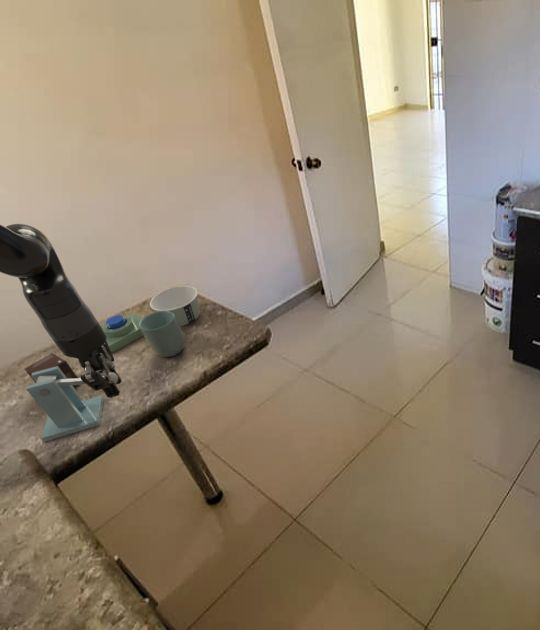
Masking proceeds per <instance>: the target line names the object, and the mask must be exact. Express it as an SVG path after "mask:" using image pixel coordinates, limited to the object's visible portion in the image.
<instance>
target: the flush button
mask: <svg viewBox="0 0 540 630" xmlns="http://www.w3.org/2000/svg"><path fill="white" fill-rule="evenodd" d="M123 316H124V315H121V314H118V315H113V316H111V317H109V318H108V319H106V321H105V323H106V324H107V326H108V327H109V329H117V328H120V327H122V326H124V325H125V324H126V321H125V319H124V317H123Z"/></svg>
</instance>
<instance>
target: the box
mask: <svg viewBox="0 0 540 630" xmlns="http://www.w3.org/2000/svg"><path fill="white" fill-rule="evenodd" d="M56 366H58V367H59V368H60V369H61V371H62V372H63V374H64V375H65V376H66V378H67V379H72V378H79V377H78V376H77V374H76V373H75V372H74V370H73V368H71V366H70V365H69V363H68V362H67V361H66V360H65V359H63V358H61V357H60V356H58V355H56V354H55V353H53V352H52V353H50V354H48V355H46V356H45V357H42V358H41V359H39V360H37V361H35V362H33V363H32V364H30V365H28V366H26V367H24V371H25V372H26V373H27V374H28V376H29V377H30V378H31V379H32V380H33V382H34V384H36V381H35V380H34V379H33V377H32V376H31V375H32V373H34V372H37V371H41V370H45V369H49V368H52V367H56ZM72 386H73V387H74V388H75V389H76V387H78V386H79V385H72Z"/></svg>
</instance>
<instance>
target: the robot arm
mask: <svg viewBox="0 0 540 630" xmlns="http://www.w3.org/2000/svg"><path fill="white" fill-rule="evenodd" d="M0 273H1V274H3V275H7V276H11V277H14V278H18V280H19V281H20V284H21V287H22V293H23V296H24V298H25V300H26V302H27V304H28V305H29V306H30V308H31V309H32V310H33V312H34V313H35V314H36V316H37V317H38V319H39V320H40V323H41V324H42V325H41V326H42V327H43V328H44V330H45V331H46V332H47V334H48V335H49V337H50V339H51V340H52V341H53V342H54V344H55V345H56V346H57V348H58V349H59V350H60V352H61V353H62V355H64V356H65V357H67V358H74V359H77V360H78V364H79V365H80V367H81V368H82V369H83V370H84V371H85V372H84V374H81V375H80V378H81V380H82V381H83V382H84V383H86V384H85V385H87V386H88V387H89V388H91V389H92V390H93V391H95V392H97V391H99V390H102V391H103V393H104V395H105V396H106V397H107V398H109V399H112V398H115V397H119V396H120V393H121V392H120V391H121V390H119V388H118V386H117V385H120V384H122V379H121V377H120V375H119V373H118V372H117V370H116V366H115V364H114V362H115V357H114V355H113V353H111V350H110V348H109V346H108V343H107V341H106V334H105V333H104V331H103V329H102V326H101V325H100V323H99V321H98V319H97V318H96V316H95V315H94V313H93V312H92V310H91V309H90V308H89V306H88V305H87V304H86V303H85V301H84V300H83V299H82V297H81V296H80V294H79V292H78V291H77V289H76V288H75V286H74V285H73V283H72V282H71V280H70V279H69V277H68V276H67V274H66V271H65V270H64V267H63V265H62V263H61V260H60V258H59V256H58V254H57V252H56V250H55V248H54V246H53V244H52V243H51V241H50V239H48V237H47V235H46V234H44V233H43V232H42V231H41V230H39V229H38V228H36V227H35V226H32V225H28V224H24V223H13V224H9V225H6V226H5V225H3V224H1V223H0ZM109 372H114V373H115V374H116V375H117V376H118V382H117V383H116V384H114V382H113V381H112V379H111V377H110V375H109ZM102 376H104V377H105V378H106V379H105V378H103V377H102Z"/></svg>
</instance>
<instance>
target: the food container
mask: <svg viewBox="0 0 540 630" xmlns="http://www.w3.org/2000/svg"><path fill="white" fill-rule="evenodd" d="M198 294H199V292H198V290H197V288H196V287H193V286H191V285H178V286H173V287H169V288H166V289H164V290H162V291H160V292H159V293H156V294H155V295H154V296H153V297H152V298H151V299H150V301H149V307H150V308H151V309H152V311H154V312H158V311H170V312H172V313H173V314H174V315H175V316H176V318H177V320H178V323H179V325H180V327H183V326H187V325H188V324H189V325H190V324H191V323H193V322H195V320H197V319H198V318H199V316H200V315H199V314H201V309H200V305H199V300H198V299H199V298H198Z"/></svg>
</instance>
